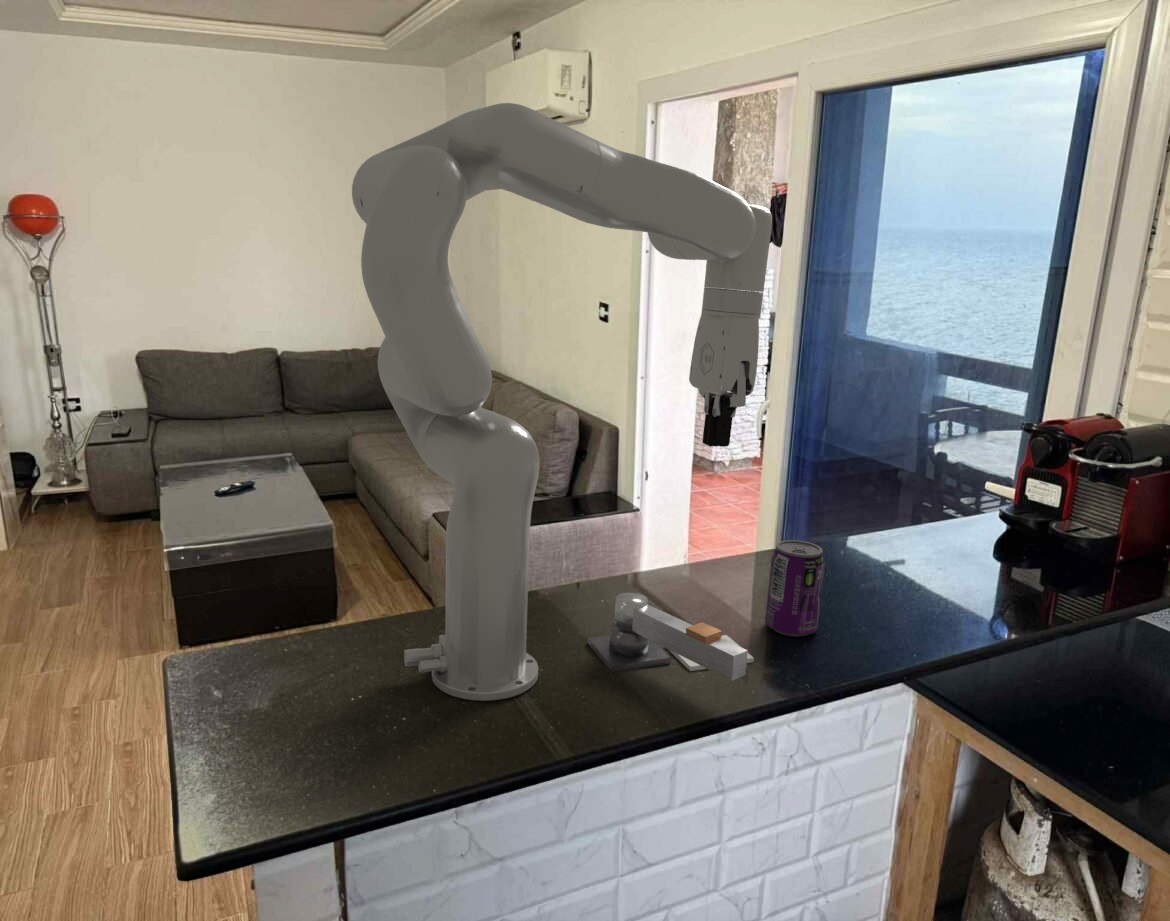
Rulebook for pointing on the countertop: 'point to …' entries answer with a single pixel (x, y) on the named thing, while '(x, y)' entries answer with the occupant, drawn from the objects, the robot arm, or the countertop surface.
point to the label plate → (694, 666)
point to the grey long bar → (680, 636)
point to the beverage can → (795, 588)
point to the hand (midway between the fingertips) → (715, 444)
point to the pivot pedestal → (627, 650)
